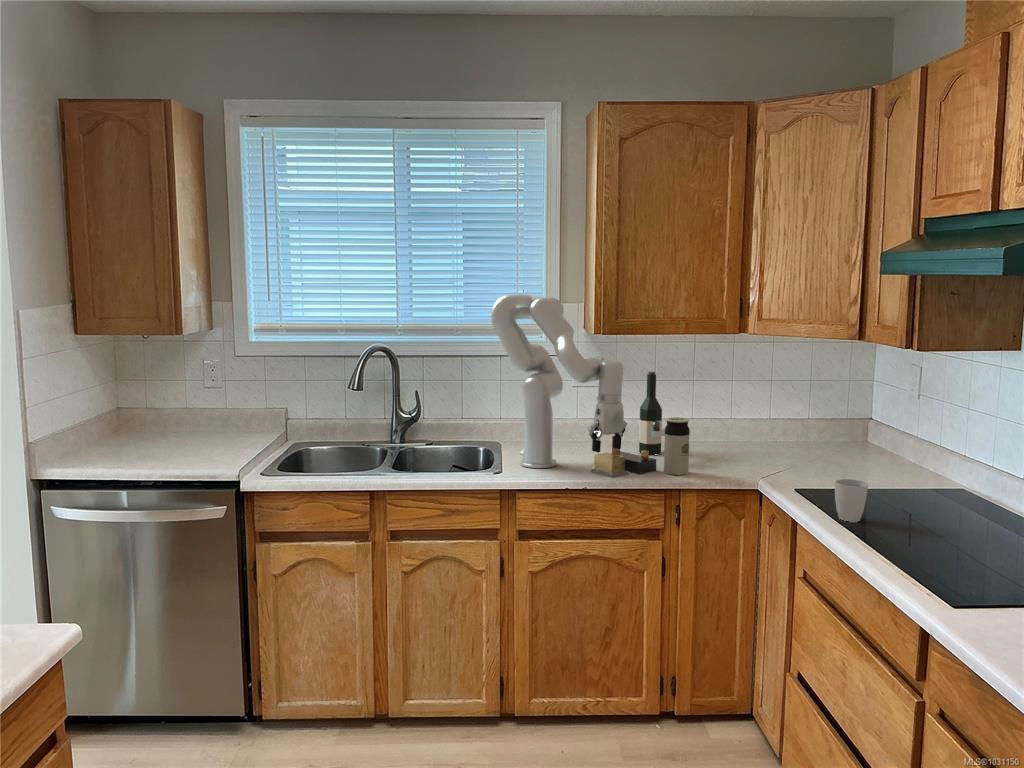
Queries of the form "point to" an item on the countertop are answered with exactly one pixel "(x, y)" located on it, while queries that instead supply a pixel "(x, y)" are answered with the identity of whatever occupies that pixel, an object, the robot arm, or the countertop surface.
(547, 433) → the robot arm
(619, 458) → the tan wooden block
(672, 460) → the travel mug
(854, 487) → the cup
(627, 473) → the rubber mat
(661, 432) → the bar
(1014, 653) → the countertop surface
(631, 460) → the dark slate base plate
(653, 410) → the wine bottle
